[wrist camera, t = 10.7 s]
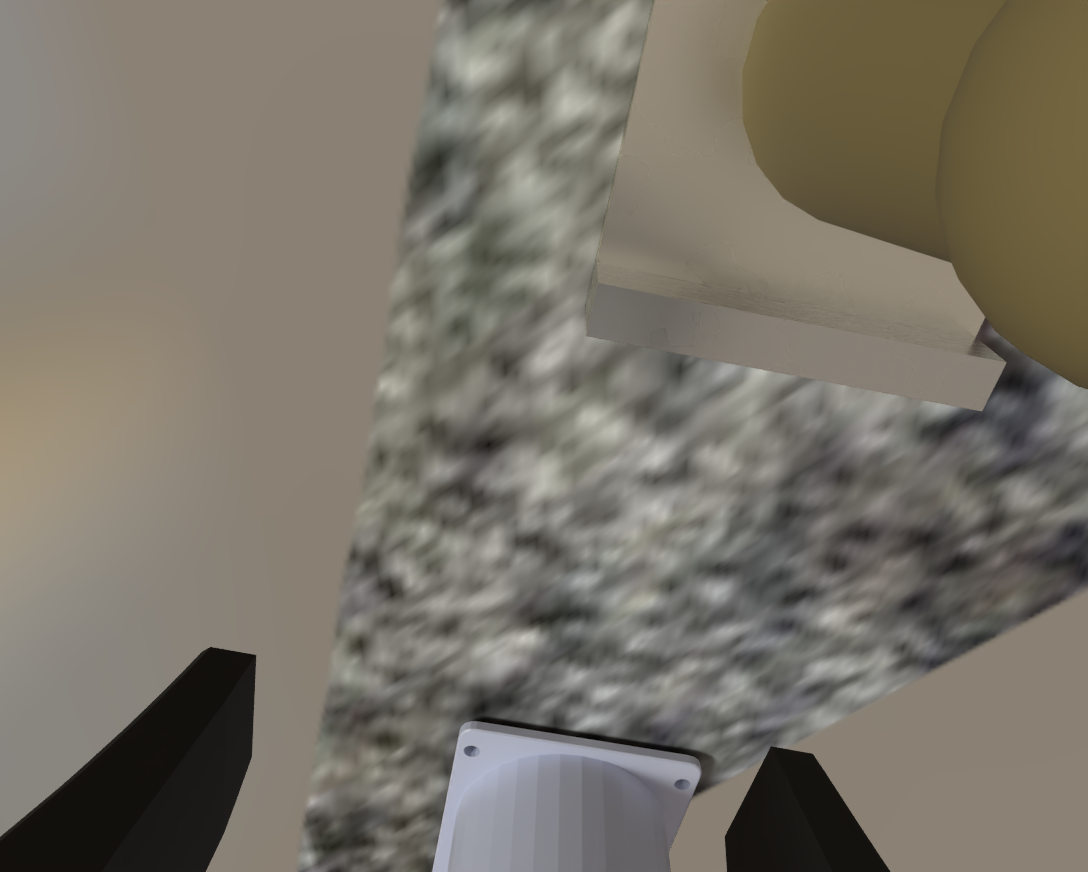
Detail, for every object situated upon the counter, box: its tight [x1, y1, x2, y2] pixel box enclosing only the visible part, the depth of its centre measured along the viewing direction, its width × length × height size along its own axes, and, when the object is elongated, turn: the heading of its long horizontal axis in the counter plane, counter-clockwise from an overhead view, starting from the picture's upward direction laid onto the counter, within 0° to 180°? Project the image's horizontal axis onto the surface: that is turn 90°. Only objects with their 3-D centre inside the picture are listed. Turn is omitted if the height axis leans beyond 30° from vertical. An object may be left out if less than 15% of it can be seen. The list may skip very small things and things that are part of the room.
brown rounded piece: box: [742, 0, 1088, 389], centre depth 11 cm, size 6×6×11 cm
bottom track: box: [585, 0, 1007, 411], centre depth 15 cm, size 14×9×2 cm, turn 169°
